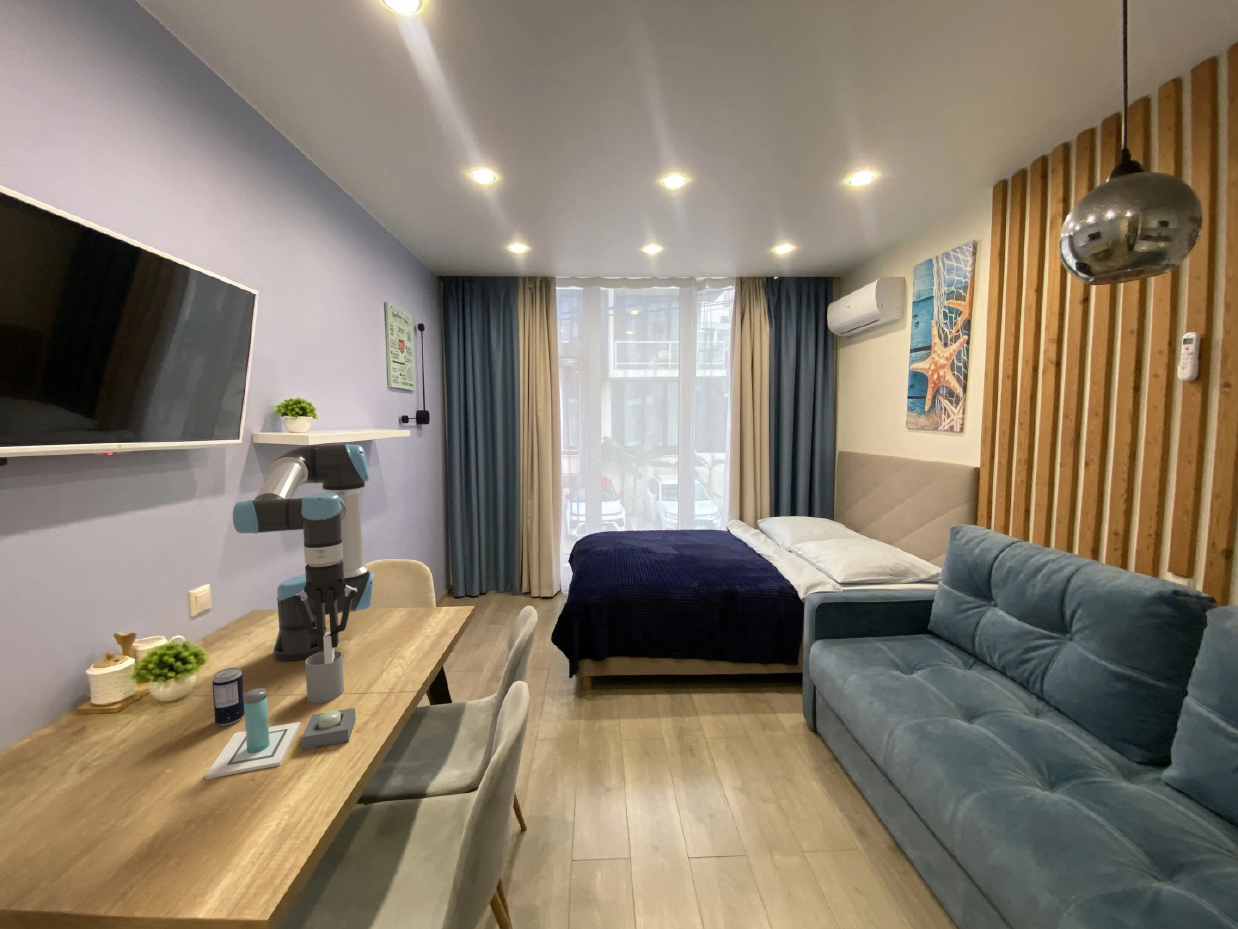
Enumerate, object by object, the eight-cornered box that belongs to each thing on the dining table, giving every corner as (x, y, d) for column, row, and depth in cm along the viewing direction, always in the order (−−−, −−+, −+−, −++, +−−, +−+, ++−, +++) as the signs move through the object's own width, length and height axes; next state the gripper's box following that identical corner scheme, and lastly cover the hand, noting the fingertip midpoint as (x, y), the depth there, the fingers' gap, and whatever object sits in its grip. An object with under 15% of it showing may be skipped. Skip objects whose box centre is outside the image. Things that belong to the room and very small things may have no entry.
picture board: (235, 735, 115) (234, 732, 115) (300, 724, 119) (300, 721, 119) (204, 779, 101) (204, 775, 101) (280, 765, 105) (280, 761, 105)
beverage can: (250, 716, 122) (247, 668, 122) (226, 729, 117) (222, 679, 116) (234, 712, 124) (231, 665, 123) (209, 725, 119) (206, 676, 118)
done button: (321, 725, 116) (320, 712, 116) (342, 722, 118) (342, 709, 118) (316, 736, 112) (315, 723, 112) (338, 733, 114) (338, 719, 113)
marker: (250, 743, 111) (247, 690, 110) (272, 739, 112) (269, 687, 111) (243, 755, 107) (240, 699, 106) (266, 750, 108) (262, 696, 107)
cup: (327, 704, 127) (325, 666, 127) (299, 701, 129) (297, 663, 128) (351, 687, 136) (349, 651, 135) (324, 684, 137) (323, 649, 137)
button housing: (312, 727, 118) (312, 714, 118) (355, 719, 121) (355, 707, 121) (302, 750, 109) (301, 737, 109) (348, 742, 112) (347, 729, 112)
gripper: (286, 569, 109) (292, 673, 111) (353, 564, 113) (358, 664, 115) (296, 559, 116) (302, 657, 118) (359, 555, 120) (363, 649, 123)
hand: (329, 660), depth 117 cm, fingers closed
